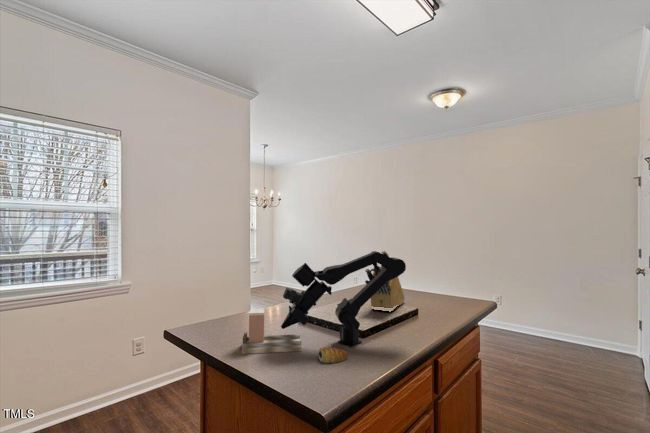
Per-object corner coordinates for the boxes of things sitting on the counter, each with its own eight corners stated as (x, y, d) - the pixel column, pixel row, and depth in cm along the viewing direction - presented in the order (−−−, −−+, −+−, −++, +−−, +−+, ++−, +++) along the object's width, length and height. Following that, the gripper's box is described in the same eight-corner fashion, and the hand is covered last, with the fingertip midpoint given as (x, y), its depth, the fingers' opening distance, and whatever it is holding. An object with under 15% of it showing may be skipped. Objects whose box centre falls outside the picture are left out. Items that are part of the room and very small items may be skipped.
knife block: (363, 315, 154) (363, 251, 155) (385, 300, 185) (385, 246, 186) (385, 318, 149) (385, 252, 149) (405, 302, 180) (404, 247, 180)
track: (299, 340, 120) (299, 328, 120) (301, 350, 110) (301, 337, 110) (244, 343, 117) (245, 330, 117) (241, 353, 107) (242, 340, 107)
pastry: (343, 353, 108) (343, 342, 108) (350, 362, 102) (350, 350, 102) (316, 356, 106) (316, 345, 106) (322, 365, 99) (322, 353, 99)
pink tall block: (264, 338, 116) (264, 308, 116) (263, 344, 111) (264, 312, 111) (249, 339, 115) (250, 309, 115) (248, 344, 110) (248, 313, 110)
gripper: (294, 276, 125) (266, 306, 123) (297, 284, 106) (264, 320, 104) (315, 295, 125) (287, 325, 124) (321, 307, 107) (288, 343, 105)
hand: (281, 327), depth 114 cm, fingers closed
